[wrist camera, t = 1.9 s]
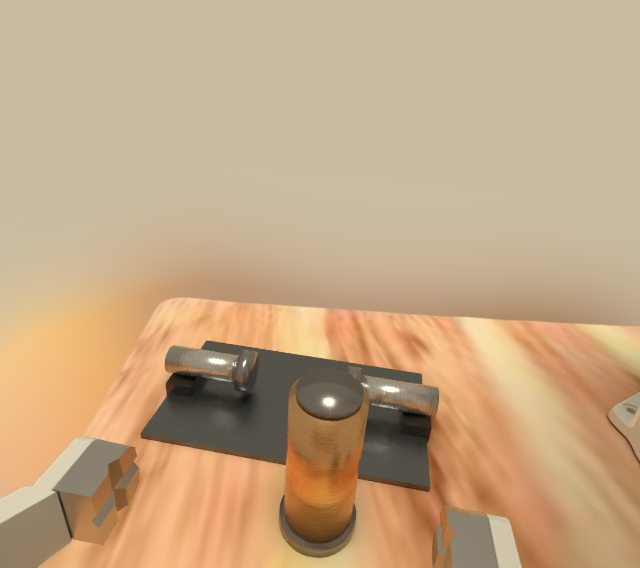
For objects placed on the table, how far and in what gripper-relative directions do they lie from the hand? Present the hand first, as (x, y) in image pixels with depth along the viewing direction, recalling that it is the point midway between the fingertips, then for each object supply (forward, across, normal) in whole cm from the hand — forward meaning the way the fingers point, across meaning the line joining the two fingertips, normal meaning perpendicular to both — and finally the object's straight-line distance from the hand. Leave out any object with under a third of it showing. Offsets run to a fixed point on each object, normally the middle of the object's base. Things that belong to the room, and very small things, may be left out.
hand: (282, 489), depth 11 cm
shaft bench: (+23, +4, +19) cm, 30 cm away
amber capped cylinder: (+12, 0, +19) cm, 23 cm away
